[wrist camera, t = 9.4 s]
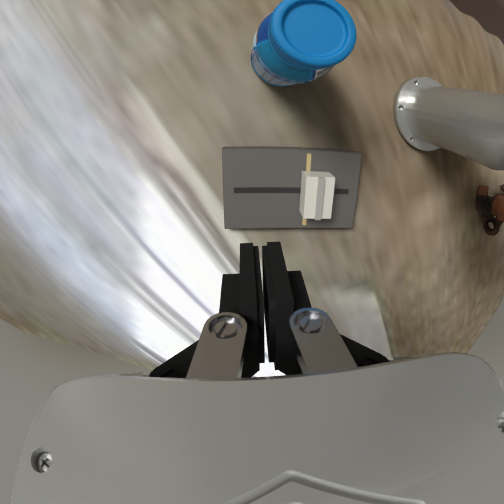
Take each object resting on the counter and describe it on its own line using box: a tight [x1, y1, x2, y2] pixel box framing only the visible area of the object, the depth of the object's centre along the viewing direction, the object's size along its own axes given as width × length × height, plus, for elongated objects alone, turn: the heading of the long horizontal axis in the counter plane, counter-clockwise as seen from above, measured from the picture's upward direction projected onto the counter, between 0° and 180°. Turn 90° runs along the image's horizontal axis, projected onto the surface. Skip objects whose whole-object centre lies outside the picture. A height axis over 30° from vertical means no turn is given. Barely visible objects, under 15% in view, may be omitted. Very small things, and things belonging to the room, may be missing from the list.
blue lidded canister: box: [251, 0, 356, 87], centre depth 25 cm, size 8×8×20 cm
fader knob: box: [299, 171, 335, 220], centre depth 39 cm, size 4×6×4 cm, turn 0°
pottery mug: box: [476, 184, 504, 236], centre depth 43 cm, size 12×9×8 cm
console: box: [222, 147, 362, 229], centre depth 42 cm, size 20×12×2 cm, turn 90°
